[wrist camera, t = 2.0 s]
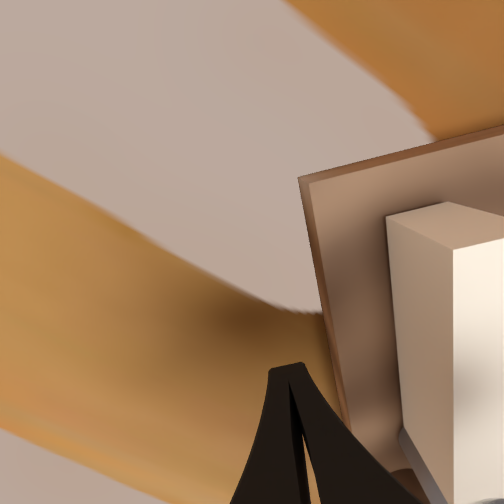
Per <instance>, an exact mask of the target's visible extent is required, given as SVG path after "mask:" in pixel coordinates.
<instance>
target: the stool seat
mask: <svg viewBox="0 0 504 504" xmlns="http://www.w3.org/2000/svg"><path fill="white" fill-rule="evenodd" d="M298 182H299V188H300V193H301V199H302V204H303V209H304V214H305V219H306V225H307V231H308V236H309V242H310V247H311V252H312V257H313V263H314V268H315V273H316V279H317V284H318V290H319V295H320V301H321V306H322V311H323V317H324V322H325V327H326V333H327V338H328V344H329V349H330V354H331V360H332V365H333V370H334V376H335V381H336V387H337V392H338V397H339V403H340V408H341V413H342V419H343V423H344V425H345V426H346V427H347V428H348V429H349V430H350V432H351V433H352V434H353V435H354V436H355V437H356V439H357V440H358V441H359V442H360V443H361V444H362V445H363V446H364V447H365V448H366V449H367V450H368V452H369V453H370V454H371V455H372V456H373V457H374V458H375V459H376V460H377V461H378V462H379V463H380V464H381V465H382V466H383V467H384V468H385V469H386V470H387V471H389V472H390V473H391V474H392V475H393V476H394V477H395V478H396V479H397V480H398V481H399V482H400V483H401V484H402V485H403V486H404V487H406V488H407V489H408V490H409V491H410V492H411V493H412V494H413V495H414V496H416V497H417V498H418V499H419V500H420V501H421V502H422V503H424V504H431V503H430V501H429V499H428V497H427V496H426V494H425V492H424V490H423V488H422V486H421V484H420V482H419V480H418V478H417V476H416V475H415V473H414V471H413V469H412V467H411V465H410V463H409V461H408V459H407V457H406V455H405V454H404V452H403V450H402V448H401V446H400V444H399V440H398V437H399V433H400V431H401V429H402V428H403V426H404V424H403V412H402V401H401V389H400V378H399V366H398V354H397V343H396V331H395V320H394V308H393V296H392V285H391V273H390V262H389V250H388V238H387V227H386V216H390V215H395V214H399V213H403V212H407V211H411V210H415V209H419V208H423V207H428V206H432V205H436V204H440V203H444V202H452V203H455V204H459V205H463V206H466V207H470V208H474V209H478V210H481V211H485V212H489V213H492V214H496V215H500V216H503V217H504V125H501V126H497V127H493V128H489V129H485V130H481V131H478V132H474V133H470V134H466V135H462V136H458V137H454V138H450V139H446V140H442V141H438V142H434V143H430V144H426V145H423V146H419V147H415V148H411V149H407V150H403V151H399V152H395V153H391V154H387V155H383V156H379V157H375V158H371V159H367V160H363V161H359V162H356V163H352V164H348V165H344V166H340V167H336V168H332V169H328V170H324V171H320V172H316V173H312V174H308V175H305V176H301V177H298Z"/></svg>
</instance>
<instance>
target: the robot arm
mask: <svg viewBox="0 0 504 504" xmlns="http://www.w3.org/2000/svg"><path fill="white" fill-rule="evenodd" d="M302 434H303V437H304V441H305V444H306V447H307V450H308V454H309V457H310V460H311V464H312V467H313V470H314V474H315V478H316V483H317V487H318V492H319V497H320V502H321V504H424V503H422V502H421V501H420V500H419V499H418V498H417V497H416V496H414V495H413V494H412V493H411V492H410V491H409V490H408V489H407V488H406V487H404V486H403V485H402V484H401V483H400V482H399V481H398V480H397V479H396V478H395V477H394V476H393V475H392V474H391V473H390V472H389V471H387V470H386V469H385V468H384V467H383V466H382V465H381V464H380V463H379V462H378V461H377V460H376V459H375V458H374V457H373V456H372V455H371V454H370V453H369V452H368V450H367V449H366V448H365V447H364V446H363V445H362V444H361V443H360V442H359V441H358V440H357V439H356V437H355V436H354V435H353V434H352V433H351V432H350V430H349V429H348V428H347V427H346V426H345V425H344V423H343V422H342V421H341V420H340V418H339V417H338V416H337V415H336V413H335V412H334V411H333V409H332V408H331V407H330V405H329V404H328V403H327V401H326V400H325V398H324V397H323V396H322V394H321V393H320V391H319V390H318V388H317V386H316V385H315V383H314V382H313V380H312V378H311V376H310V375H309V373H308V371H307V368H306V366H305V364H304V363H302V362H298V363H294V364H289V365H285V366H280V367H276V368H271V369H270V370H269V372H268V384H267V391H266V396H265V402H264V406H263V410H262V415H261V419H260V423H259V426H258V429H257V433H256V436H255V440H254V443H253V446H252V449H251V452H250V455H249V458H248V460H247V463H246V466H245V468H244V471H243V474H242V476H241V479H240V481H239V483H238V486H237V488H236V490H235V493H234V495H233V497H232V500H231V502H230V504H311V500H310V492H309V484H308V476H307V469H306V461H305V453H304V445H303V437H302Z"/></svg>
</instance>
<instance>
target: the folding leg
mask: <svg viewBox="0 0 504 504" xmlns="http://www.w3.org/2000/svg"><path fill="white" fill-rule="evenodd" d="M386 227H387V238H388V250H389V262H390V273H391V285H392V296H393V308H394V320H395V331H396V343H397V354H398V366H399V378H400V389H401V401H402V412H403V424H404V426H403V428H402V429H401V431H400V433H399V437H398V440H399V444H400V446H401V448H402V450H403V452H404V454H405V455H406V457H407V459H408V461H409V463H410V465H411V467H412V469H413V471H414V473H415V475H416V476H417V478H418V480H419V482H420V484H421V486H422V488H423V490H424V492H425V494H426V496H427V497H428V499H429V501H430V503H431V504H504V217H503V216H500V215H496V214H492V213H489V212H485V211H481V210H478V209H474V208H470V207H466V206H463V205H459V204H455V203H452V202H444V203H440V204H436V205H432V206H428V207H423V208H419V209H415V210H411V211H407V212H403V213H399V214H395V215H390V216H386Z"/></svg>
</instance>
